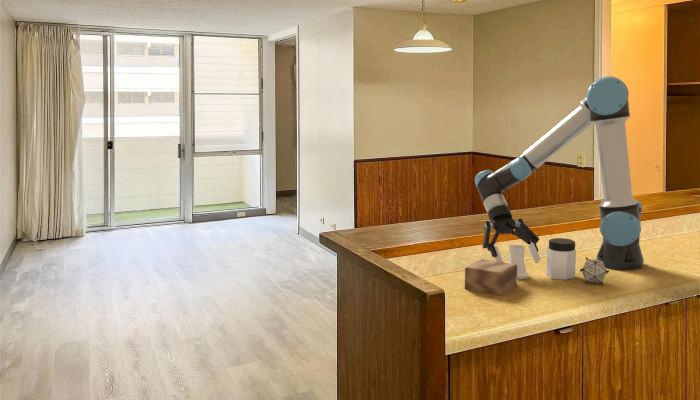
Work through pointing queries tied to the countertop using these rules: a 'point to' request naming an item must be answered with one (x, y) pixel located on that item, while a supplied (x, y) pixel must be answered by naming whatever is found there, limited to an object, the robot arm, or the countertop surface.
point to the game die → (594, 270)
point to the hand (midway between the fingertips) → (519, 263)
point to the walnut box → (491, 277)
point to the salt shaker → (518, 260)
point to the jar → (561, 259)
